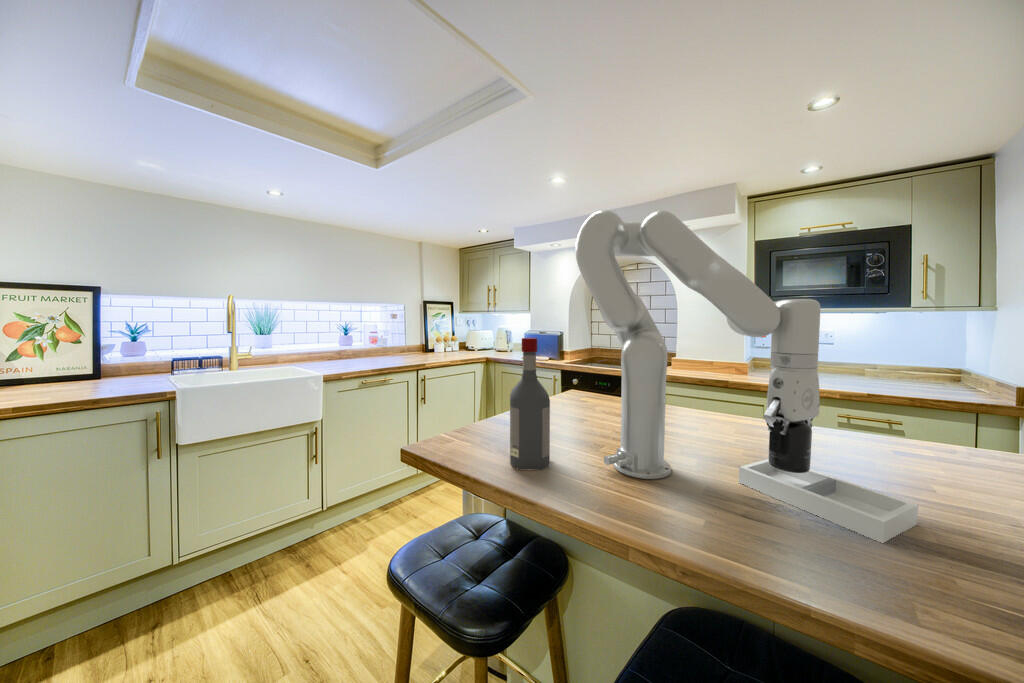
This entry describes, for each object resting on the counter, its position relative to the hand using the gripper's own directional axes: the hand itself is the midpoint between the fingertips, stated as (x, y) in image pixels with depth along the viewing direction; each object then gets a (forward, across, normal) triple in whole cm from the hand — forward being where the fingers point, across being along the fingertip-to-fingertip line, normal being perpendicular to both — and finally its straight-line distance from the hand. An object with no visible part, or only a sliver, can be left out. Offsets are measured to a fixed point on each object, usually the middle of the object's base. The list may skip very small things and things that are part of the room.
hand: (789, 448), depth 75 cm
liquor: (+8, -41, +35) cm, 54 cm away
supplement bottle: (+4, 0, 0) cm, 4 cm away
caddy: (+9, 0, -5) cm, 10 cm away
